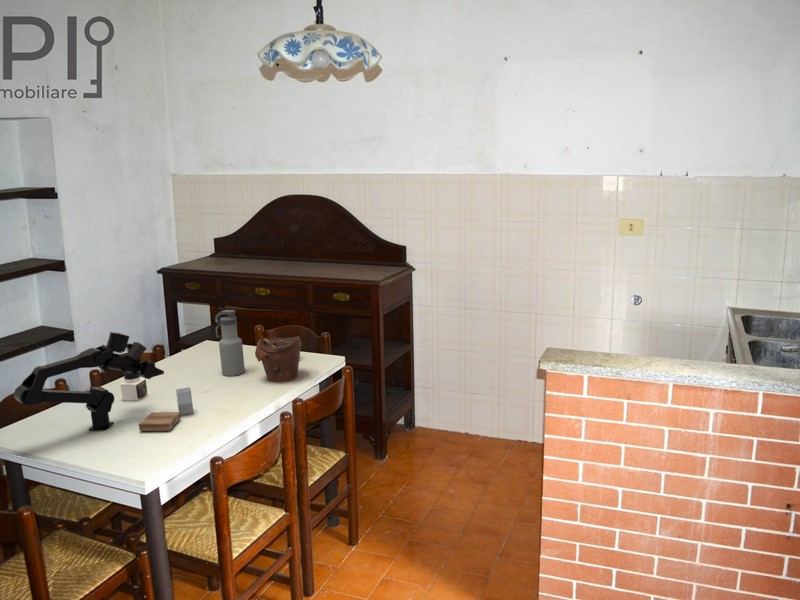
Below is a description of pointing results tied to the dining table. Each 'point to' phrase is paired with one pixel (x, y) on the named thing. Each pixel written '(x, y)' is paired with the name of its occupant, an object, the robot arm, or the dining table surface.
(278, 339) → the case
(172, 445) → the dining table surface
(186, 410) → the block
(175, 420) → the walnut stand
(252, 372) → the dining table surface
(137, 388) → the medicine bottle
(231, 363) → the water bottle
